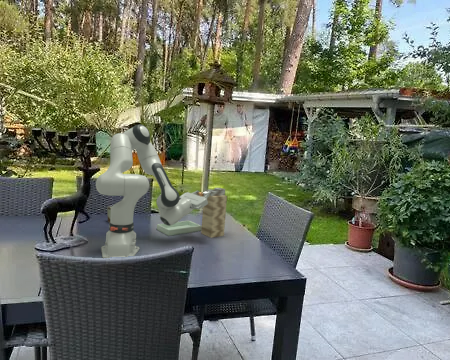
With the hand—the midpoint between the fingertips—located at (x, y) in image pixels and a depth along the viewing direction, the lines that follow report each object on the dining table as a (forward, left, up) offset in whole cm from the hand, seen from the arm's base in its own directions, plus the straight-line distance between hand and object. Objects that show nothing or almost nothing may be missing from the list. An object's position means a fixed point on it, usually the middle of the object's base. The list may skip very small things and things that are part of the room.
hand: (203, 192), depth 217 cm
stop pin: (+3, -5, -2) cm, 5 cm away
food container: (+25, +52, -27) cm, 63 cm away
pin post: (+5, -8, -27) cm, 28 cm away
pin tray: (+12, +12, -27) cm, 31 cm away
